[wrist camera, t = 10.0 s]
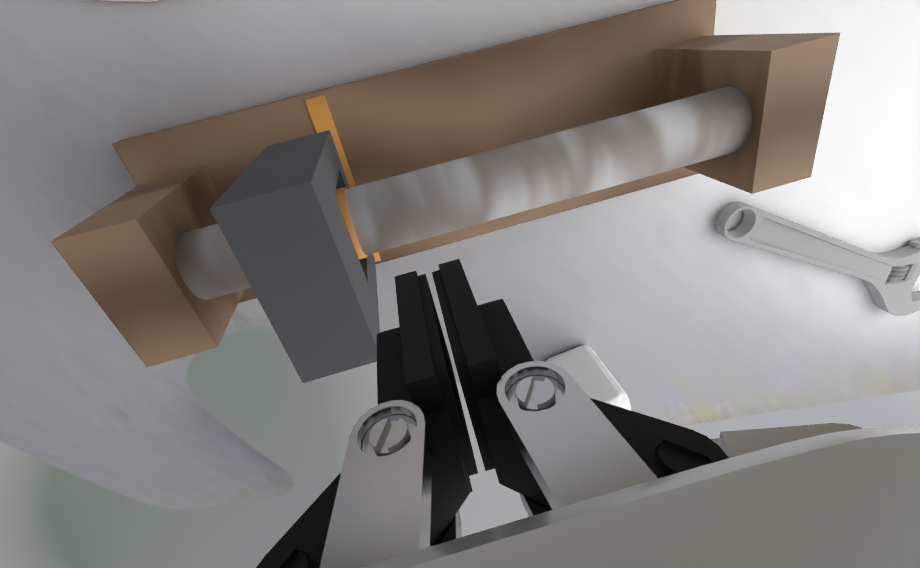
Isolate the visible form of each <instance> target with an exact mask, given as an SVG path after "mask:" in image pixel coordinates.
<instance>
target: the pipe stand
mask: <svg viewBox="0 0 920 568" xmlns="http://www.w3.org/2000/svg"><path fill="white" fill-rule="evenodd" d="M715 9H716V0H676V1H672V2H668V3H664V4H660V5H656V6H652V7H648V8H644V9H640V10H636V11H632V12H628V13H624V14H620V15H616V16H612V17H608V18H604V19H600V20H596V21H592V22H588V23H585V24H581V25H577V26H573V27H569V28H565V29H561V30H557V31H553V32H549V33H545V34H541V35H537V36H533V37H529V38H525V39H521V40H517V41H513V42H509V43H505V44H501V45H497V46H494V47H490V48H486V49H482V50H478V51H474V52H470V53H466V54H462V55H458V56H454V57H450V58H446V59H442V60H438V61H434V62H430V63H426V64H422V65H418V66H414V67H410V68H406V69H403V70H399V71H395V72H391V73H387V74H383V75H379V76H375V77H371V78H367V79H363V80H359V81H355V82H351V83H347V84H343V85H339V86H335V87H331V88H327V89H323V90H319V91H315V92H312V93H308V94H304V95H300V96H296V97H292V98H288V99H284V100H280V101H276V102H272V103H268V104H264V105H260V106H256V107H252V108H248V109H244V110H240V111H236V112H232V113H228V114H224V115H221V116H217V117H213V118H209V119H205V120H201V121H197V122H193V123H189V124H185V125H181V126H177V127H173V128H169V129H165V130H161V131H157V132H153V133H149V134H145V135H141V136H137V137H133V138H130V139H126V140H122V141H119V142H117V143H114V144H112V145H113V147H114V148H115V150H116V151H117V153H118V155H119V156H120V158H121V160H122V161H123V163H124V165H125V166H126V168H127V170H128V171H129V173H130V174H131V176H132V178H133V179H134V181H135V183H136V184H137V187H136V188H134V189H132V190H131V191H129V192H128V193H126V194H125V195H123V196H121V197H120V198H118V199H117V200H115V201H114V202H112V203H111V204H109V205H107V206H106V207H104V208H103V209H101V210H100V211H98V212H96V213H95V214H93V215H92V216H90V217H89V218H87V219H86V220H84V221H82V222H81V223H79V224H78V225H76V226H75V227H73V228H72V229H70V230H68V231H67V232H65V233H64V234H62V235H61V236H59V237H57V238H56V239H54V240H53V241H51V243H52V244H53V245H54V247H55V248H56V249H57V251H58V252H59V253H60V254H61V256H62V257H63V258H64V260H65V261H66V262H67V264H68V265H69V266H70V268H71V269H72V270H73V271H74V273H75V274H76V275H77V277H78V278H79V279H80V281H81V282H82V283H83V285H84V286H85V287H86V288H87V290H88V291H89V292H90V294H91V295H92V296H93V298H94V299H95V300H96V302H97V303H98V304H99V305H100V307H101V308H102V309H103V311H104V312H105V313H106V315H107V316H108V317H109V318H110V320H111V321H112V322H113V324H114V325H115V326H116V328H117V329H118V330H119V332H120V333H121V334H122V335H123V337H124V338H125V339H126V341H127V342H128V343H129V345H130V346H131V347H132V349H133V350H134V351H135V352H136V354H137V355H138V356H139V358H140V359H141V360H142V362H143V363H144V364H145V366H146V367H149V366H153V365H156V364H160V363H163V362H167V361H170V360H174V359H177V358H181V357H184V356H188V355H191V354H195V353H198V352H202V351H205V350H208V349H212V348H216V347H217V346H218V344H219V342H220V340H221V338H222V336H223V334H224V332H225V329H226V327H227V325H228V323H229V321H230V319H231V317H232V315H233V313H234V310H235V308H236V306H237V304H238V303H240V302H243V301H247V300H250V299H254V298H257V296H256V294H255V292H254V291H253V289H252V287H251V285H250V283H249V281H248V279H247V277H246V276H245V274H244V272H243V270H242V268H241V266H240V264H239V263H238V261H237V259H236V257H235V255H234V253H233V251H232V249H231V248H230V246H229V244H228V242H227V240H226V238H225V236H224V235H223V233H222V231H221V229H220V227H219V225H218V223H217V221H216V220H215V218H214V216H213V214H212V212H211V210H210V208H211V207H212V206H213V205H214V204H215V203H216V201H217V200H218V199H219V198H220V197H221V196H222V195H223V194H224V193H225V192H226V190H227V189H228V188H229V187H230V186H231V185H232V184H233V183H234V182H235V181H236V180H237V178H238V177H239V176H240V175H241V174H242V173H243V172H244V171H245V170H246V169H247V167H248V166H249V165H250V164H251V163H252V162H253V161H254V160H255V159H256V158H257V156H258V155H259V154H260V153H261V152H262V151H263V150H264V149H265V148H266V147H267V146H270V145H274V144H278V143H281V142H285V141H289V140H293V139H297V138H301V137H305V136H308V135H312V134H316V133H320V132H324V131H328V130H330V132H331V135H332V138H333V141H334V144H335V147H336V149H337V152H338V155H339V158H340V161H341V164H342V166H343V169H344V172H345V175H346V178H347V181H348V183H349V186H350V188H348V189H347V188H346V187H343V188H339V189H336V191H335V196H336V199H337V202H338V204H339V207H340V210H341V212H342V215H343V218H344V220H345V223H346V226H347V228H348V231H349V234H350V236H351V239H352V242H353V244H354V247H355V250H356V252H357V255H358V258H359V260H360V259H363V258H367V256H368V255H369V254H373V255H374V257H375V264H378V263H382V262H385V261H389V260H393V259H396V258H400V257H403V256H407V255H410V254H414V253H417V252H421V251H425V250H428V249H432V248H435V247H439V246H442V245H446V244H449V243H453V242H457V241H460V240H464V239H467V238H471V237H474V236H478V235H481V234H485V233H489V232H492V231H496V230H499V229H503V228H506V227H510V226H513V225H517V224H521V223H524V222H528V221H531V220H535V219H538V218H542V217H546V216H549V215H553V214H556V213H560V212H563V211H567V210H570V209H574V208H578V207H581V206H585V205H588V204H592V203H595V202H599V201H602V200H606V199H610V198H613V197H617V196H620V195H624V194H627V193H631V192H634V191H638V190H642V189H645V188H649V187H652V186H656V185H659V184H663V183H666V182H670V181H674V180H677V179H681V178H684V177H688V176H691V175H695V174H698V173H700V174H702V175H705V176H708V177H710V178H713V179H715V180H718V181H721V182H723V183H726V184H728V185H731V186H734V187H736V188H739V189H741V190H744V191H747V192H749V193H752V194H753V193H756V192H759V191H763V190H766V189H770V188H773V187H777V186H780V185H784V184H787V183H791V182H794V181H798V180H801V179H805V178H808V177H811V173H812V168H813V163H814V158H815V153H816V148H817V143H818V138H819V134H820V129H821V124H822V119H823V114H824V109H825V104H826V99H827V94H828V90H829V85H830V80H831V75H832V70H833V65H834V60H835V55H836V50H837V45H838V41H839V36H840V33H807V34H760V35H714V23H715Z"/></svg>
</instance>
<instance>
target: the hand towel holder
mask: <svg viewBox="0 0 920 568" xmlns="http://www.w3.org/2000/svg"><path fill="white" fill-rule="evenodd" d="M99 1H141V2H154V1H157V0H99Z"/></svg>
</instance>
